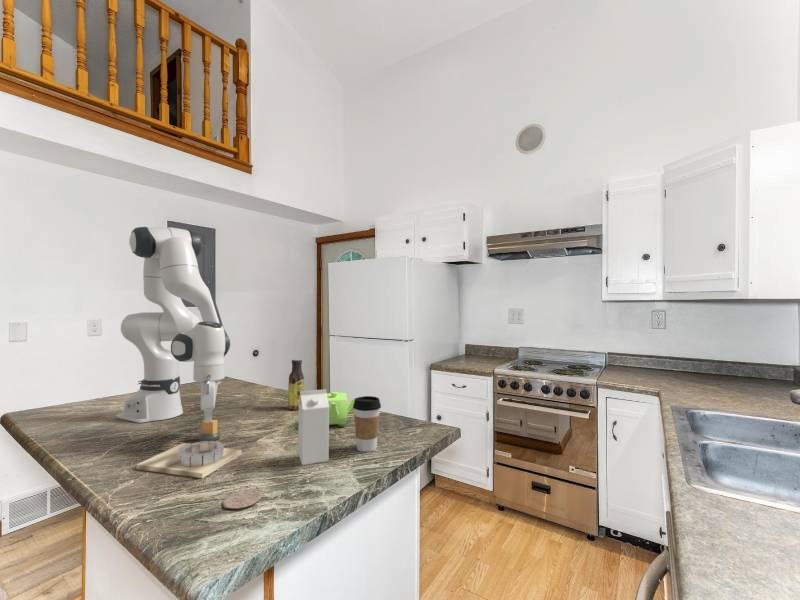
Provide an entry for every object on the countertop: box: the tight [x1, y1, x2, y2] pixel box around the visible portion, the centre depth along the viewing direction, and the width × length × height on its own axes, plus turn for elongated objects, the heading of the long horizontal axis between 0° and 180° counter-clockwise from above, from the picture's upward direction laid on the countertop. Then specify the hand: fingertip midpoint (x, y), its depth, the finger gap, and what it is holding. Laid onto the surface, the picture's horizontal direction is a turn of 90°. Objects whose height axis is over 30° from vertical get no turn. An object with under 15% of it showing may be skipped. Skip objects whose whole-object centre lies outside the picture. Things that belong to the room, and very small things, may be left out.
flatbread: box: [222, 488, 263, 510], centre depth 82 cm, size 8×8×1 cm
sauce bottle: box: [287, 358, 305, 411], centre depth 153 cm, size 7×6×20 cm
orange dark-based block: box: [198, 419, 221, 442], centre depth 118 cm, size 6×6×6 cm
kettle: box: [327, 391, 355, 428], centre depth 134 cm, size 15×14×11 cm
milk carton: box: [297, 389, 330, 466], centre depth 104 cm, size 7×7×19 cm
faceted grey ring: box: [177, 440, 225, 467], centre depth 101 cm, size 11×11×3 cm
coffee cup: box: [352, 395, 382, 453], centre depth 112 cm, size 8×8×15 cm
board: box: [136, 442, 242, 479], centre depth 102 cm, size 20×15×1 cm
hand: (208, 417), depth 117 cm, fingers open, 8 cm apart
